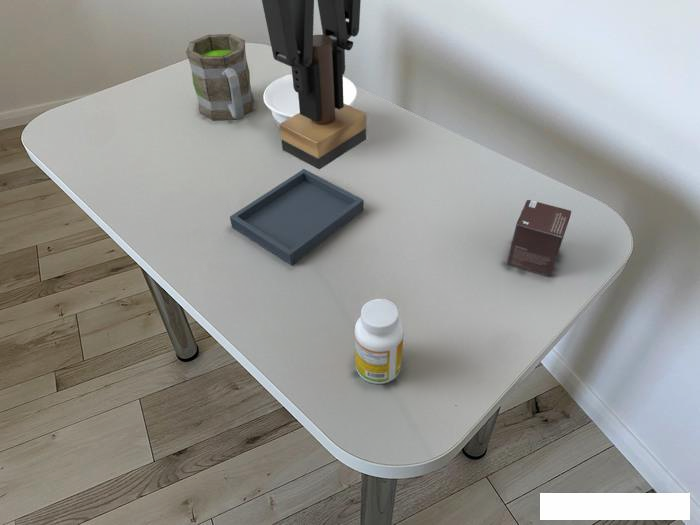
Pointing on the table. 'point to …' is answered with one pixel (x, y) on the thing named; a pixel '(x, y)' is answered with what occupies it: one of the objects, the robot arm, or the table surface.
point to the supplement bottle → (378, 342)
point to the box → (538, 237)
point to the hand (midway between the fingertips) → (322, 110)
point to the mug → (221, 76)
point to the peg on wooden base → (324, 119)
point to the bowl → (295, 97)
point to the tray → (297, 215)
